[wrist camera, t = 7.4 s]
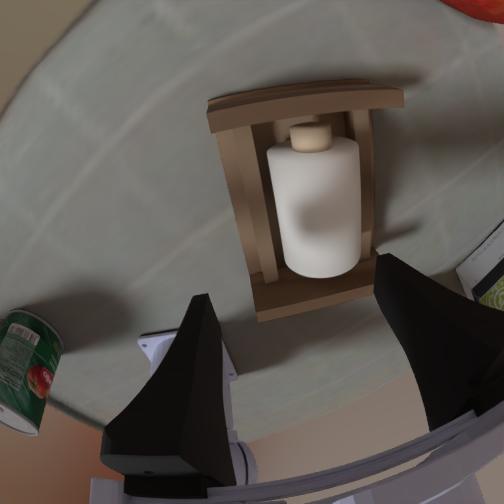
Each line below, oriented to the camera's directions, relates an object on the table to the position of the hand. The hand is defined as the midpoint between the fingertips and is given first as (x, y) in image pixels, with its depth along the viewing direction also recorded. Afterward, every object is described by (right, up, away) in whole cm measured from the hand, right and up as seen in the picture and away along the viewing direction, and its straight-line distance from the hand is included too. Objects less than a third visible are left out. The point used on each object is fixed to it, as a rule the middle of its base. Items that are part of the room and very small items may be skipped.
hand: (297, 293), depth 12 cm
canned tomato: (-26, -7, +13) cm, 30 cm away
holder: (+2, +6, +8) cm, 10 cm away
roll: (+2, +4, +5) cm, 7 cm away
